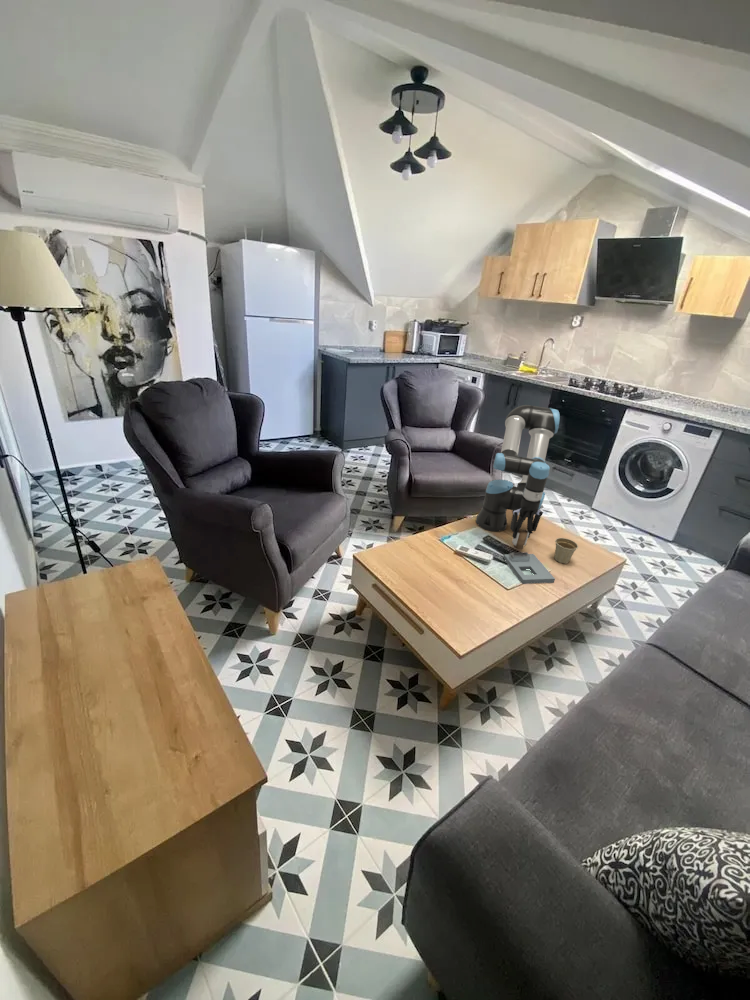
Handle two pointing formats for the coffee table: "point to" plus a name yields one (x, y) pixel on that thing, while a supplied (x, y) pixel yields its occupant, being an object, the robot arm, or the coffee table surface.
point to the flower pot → (564, 549)
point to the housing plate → (536, 568)
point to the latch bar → (519, 556)
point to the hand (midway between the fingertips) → (518, 543)
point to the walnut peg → (521, 539)
